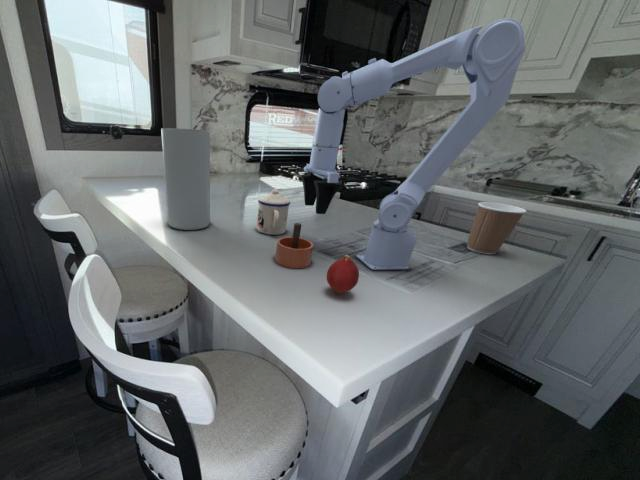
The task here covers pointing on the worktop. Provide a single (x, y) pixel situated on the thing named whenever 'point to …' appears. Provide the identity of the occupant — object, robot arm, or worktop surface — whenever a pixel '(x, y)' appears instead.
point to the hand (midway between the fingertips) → (314, 209)
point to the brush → (296, 236)
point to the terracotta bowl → (293, 253)
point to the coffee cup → (492, 226)
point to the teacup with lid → (272, 213)
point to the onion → (343, 275)
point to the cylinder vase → (187, 177)
